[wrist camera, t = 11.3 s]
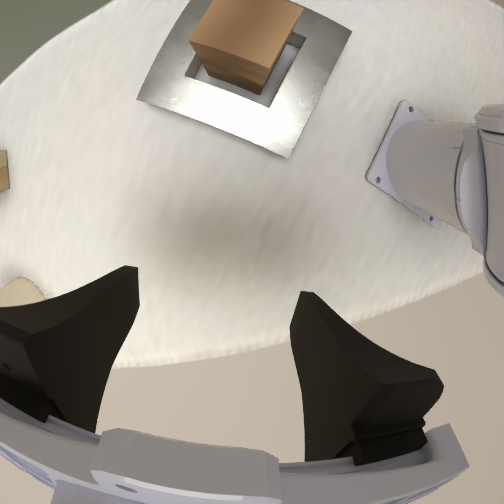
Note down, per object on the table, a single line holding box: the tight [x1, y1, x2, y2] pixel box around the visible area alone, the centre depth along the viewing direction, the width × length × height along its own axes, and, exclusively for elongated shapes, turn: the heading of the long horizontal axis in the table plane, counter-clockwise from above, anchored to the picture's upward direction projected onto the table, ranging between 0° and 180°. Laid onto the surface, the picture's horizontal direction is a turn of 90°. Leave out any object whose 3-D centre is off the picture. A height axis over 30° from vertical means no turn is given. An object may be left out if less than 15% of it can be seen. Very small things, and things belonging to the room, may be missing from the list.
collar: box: [136, 0, 352, 159], centre depth 15 cm, size 11×11×2 cm
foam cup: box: [0, 278, 45, 307], centre depth 18 cm, size 10×9×13 cm
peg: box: [188, 0, 304, 95], centre depth 12 cm, size 4×4×8 cm
